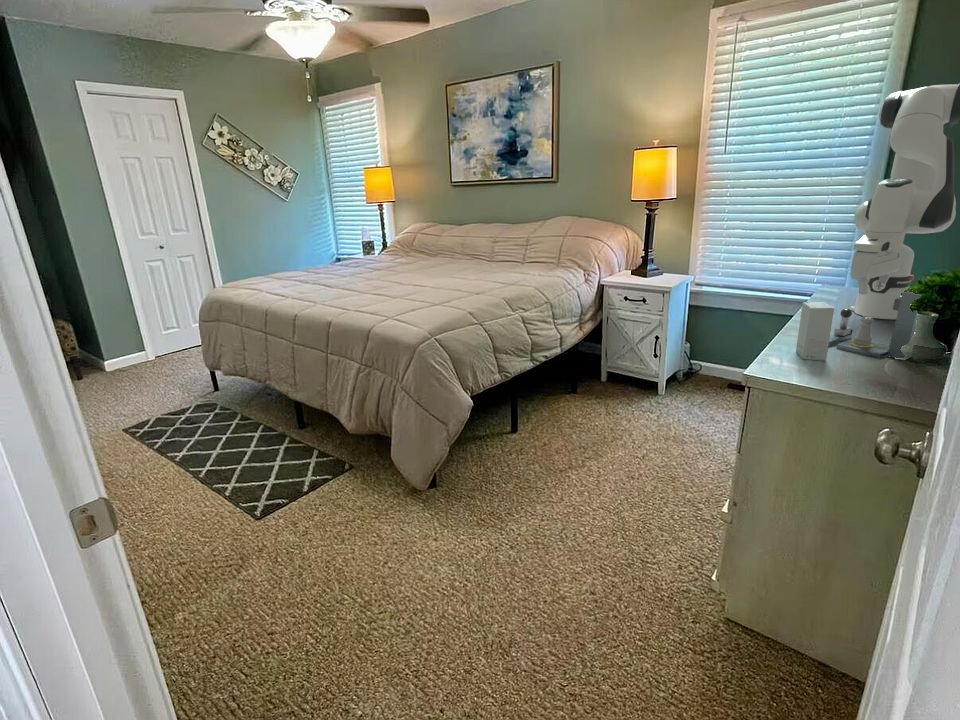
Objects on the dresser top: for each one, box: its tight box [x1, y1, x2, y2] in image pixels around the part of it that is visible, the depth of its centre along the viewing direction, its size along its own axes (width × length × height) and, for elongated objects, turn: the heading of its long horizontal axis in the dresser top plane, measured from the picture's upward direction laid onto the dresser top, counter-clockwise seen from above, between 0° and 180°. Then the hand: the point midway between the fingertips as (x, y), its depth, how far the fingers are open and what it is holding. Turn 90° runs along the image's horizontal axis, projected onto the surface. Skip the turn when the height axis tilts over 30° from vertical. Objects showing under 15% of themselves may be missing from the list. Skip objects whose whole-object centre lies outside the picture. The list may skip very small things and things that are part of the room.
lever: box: [833, 308, 853, 336], centre depth 153 cm, size 4×3×8 cm
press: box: [828, 291, 922, 359], centre depth 143 cm, size 15×20×18 cm
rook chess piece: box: [853, 315, 875, 345], centre depth 145 cm, size 4×4×8 cm
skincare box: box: [795, 301, 835, 362], centre depth 141 cm, size 8×6×15 cm
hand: (871, 291), depth 144 cm, fingers open, 8 cm apart
